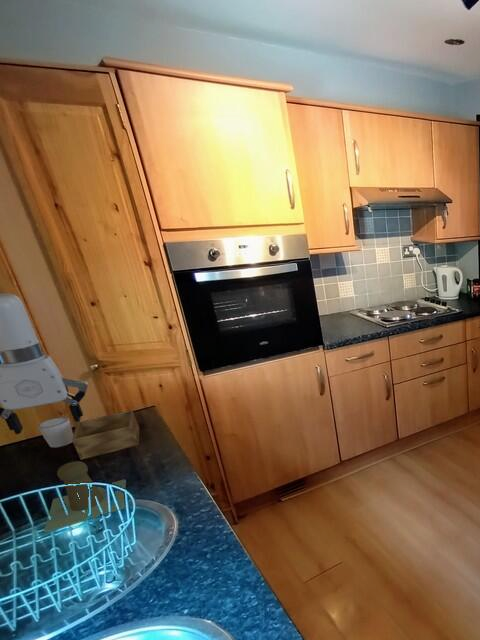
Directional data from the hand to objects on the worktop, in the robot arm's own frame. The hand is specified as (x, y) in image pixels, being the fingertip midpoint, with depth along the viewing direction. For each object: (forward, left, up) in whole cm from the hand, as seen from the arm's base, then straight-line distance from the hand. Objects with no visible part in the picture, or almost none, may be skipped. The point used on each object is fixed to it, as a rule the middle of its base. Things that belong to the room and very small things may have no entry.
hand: (49, 425), depth 101 cm
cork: (0, 0, -22) cm, 22 cm away
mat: (0, 0, -22) cm, 22 cm away
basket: (+3, +34, -22) cm, 40 cm away
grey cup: (-9, +42, -22) cm, 49 cm away
